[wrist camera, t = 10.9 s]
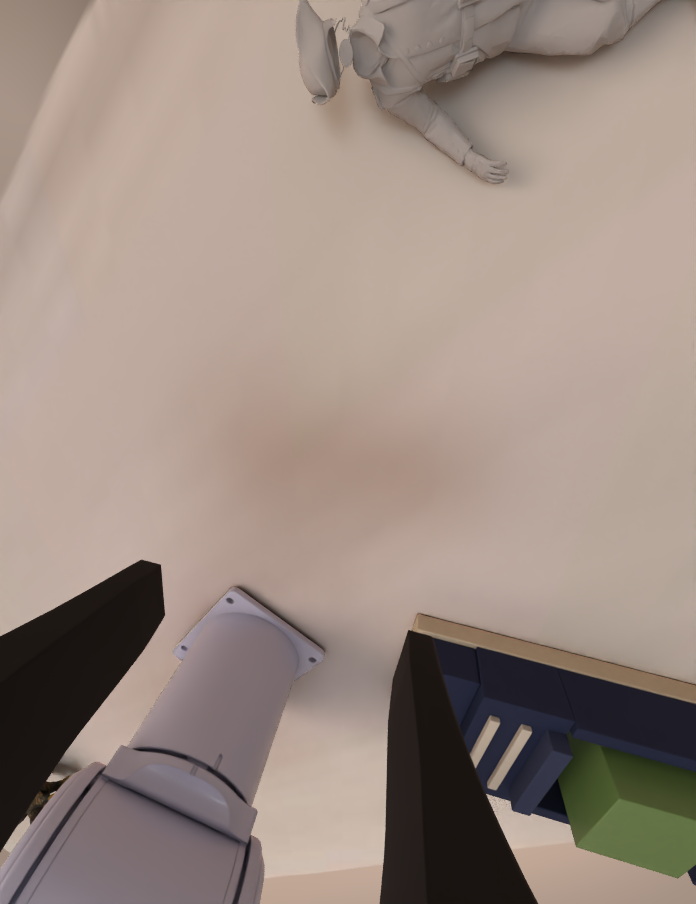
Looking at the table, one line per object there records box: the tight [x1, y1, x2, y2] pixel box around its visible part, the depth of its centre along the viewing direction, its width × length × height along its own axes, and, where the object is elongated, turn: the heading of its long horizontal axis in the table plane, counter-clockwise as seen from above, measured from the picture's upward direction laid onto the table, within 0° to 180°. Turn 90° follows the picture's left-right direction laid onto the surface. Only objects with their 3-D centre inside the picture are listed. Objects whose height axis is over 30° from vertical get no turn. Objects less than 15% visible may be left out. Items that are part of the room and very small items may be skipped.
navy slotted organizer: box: [390, 614, 696, 885], centre depth 22 cm, size 18×8×6 cm, turn 81°
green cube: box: [558, 730, 696, 878], centre depth 20 cm, size 5×5×5 cm
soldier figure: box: [296, 0, 661, 183], centre depth 11 cm, size 8×5×12 cm
